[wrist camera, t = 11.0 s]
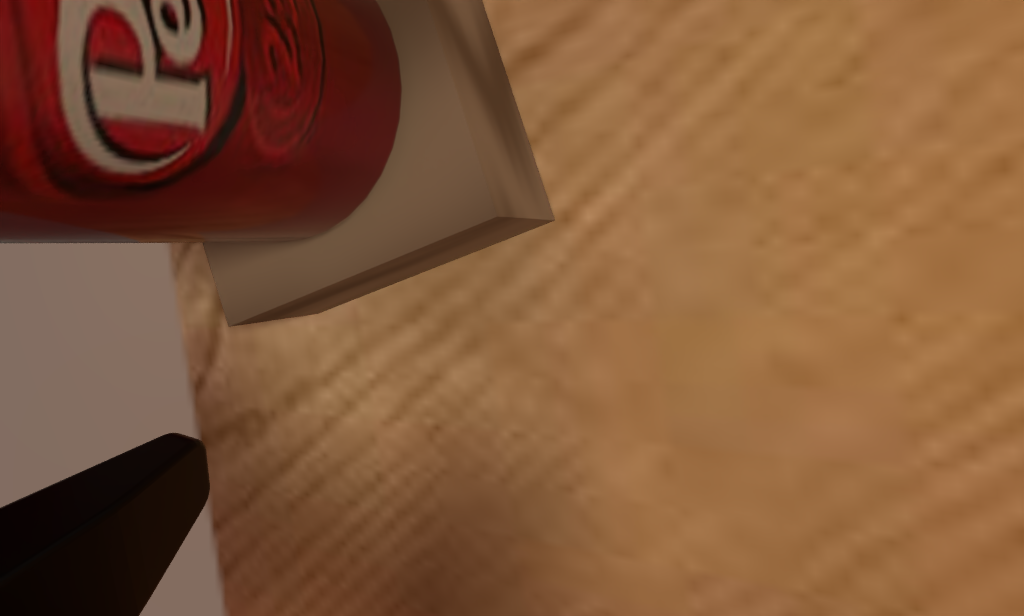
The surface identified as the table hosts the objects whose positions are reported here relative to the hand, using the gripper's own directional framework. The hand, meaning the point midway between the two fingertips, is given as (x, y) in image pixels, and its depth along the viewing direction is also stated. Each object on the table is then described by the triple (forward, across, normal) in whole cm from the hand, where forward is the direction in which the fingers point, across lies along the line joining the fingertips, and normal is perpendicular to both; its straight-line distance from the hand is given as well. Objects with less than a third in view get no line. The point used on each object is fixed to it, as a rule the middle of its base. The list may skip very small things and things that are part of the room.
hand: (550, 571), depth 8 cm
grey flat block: (+15, +9, +1) cm, 18 cm away
